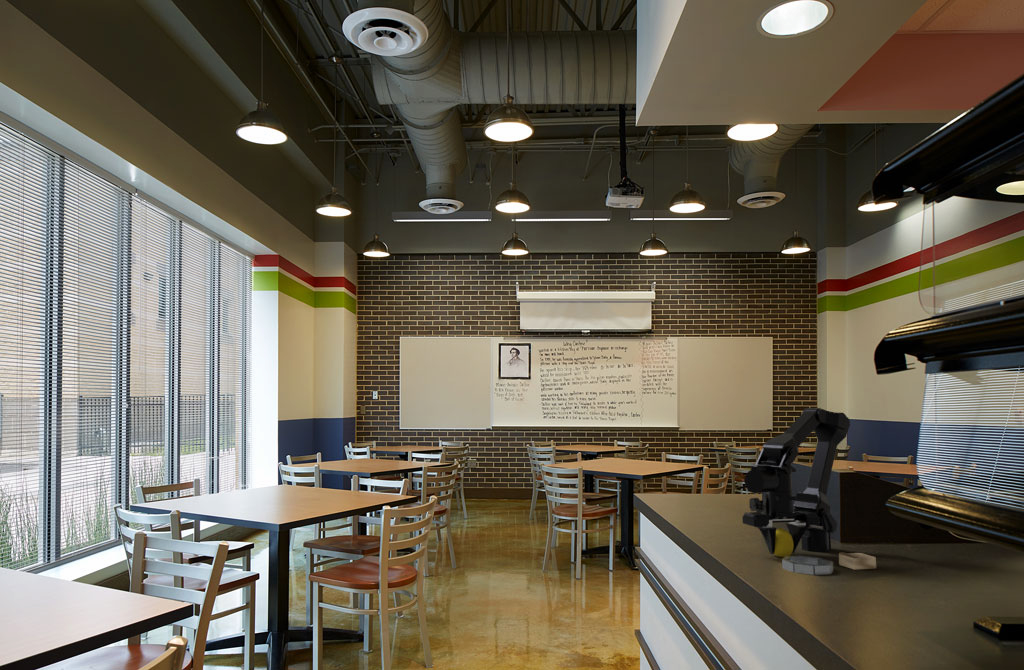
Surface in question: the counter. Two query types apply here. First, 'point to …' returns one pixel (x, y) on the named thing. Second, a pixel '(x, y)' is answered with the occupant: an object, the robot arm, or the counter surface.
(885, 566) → the counter surface
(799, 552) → the counter surface
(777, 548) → the lemon
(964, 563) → the counter surface
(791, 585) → the counter surface
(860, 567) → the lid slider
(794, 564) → the ring
